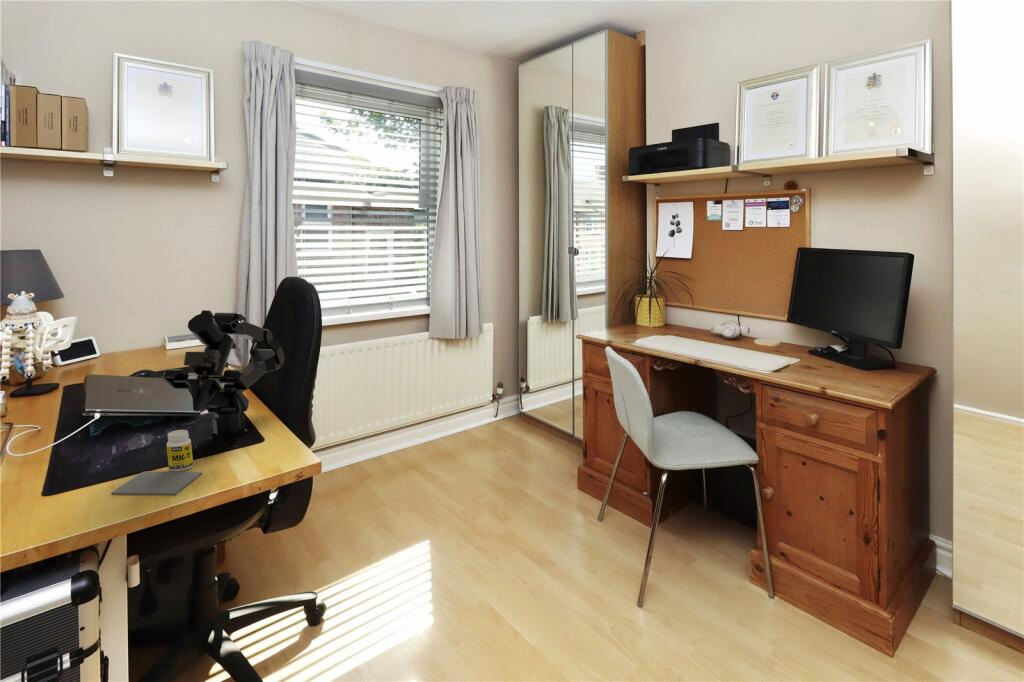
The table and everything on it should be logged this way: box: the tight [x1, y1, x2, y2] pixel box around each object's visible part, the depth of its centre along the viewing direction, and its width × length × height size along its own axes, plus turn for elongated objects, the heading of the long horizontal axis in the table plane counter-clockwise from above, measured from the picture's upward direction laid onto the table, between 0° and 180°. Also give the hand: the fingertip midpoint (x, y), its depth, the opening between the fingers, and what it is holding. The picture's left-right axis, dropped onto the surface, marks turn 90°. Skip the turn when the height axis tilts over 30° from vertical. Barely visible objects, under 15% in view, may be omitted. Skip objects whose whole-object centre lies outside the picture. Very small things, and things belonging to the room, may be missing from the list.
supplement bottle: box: [166, 429, 194, 472], centre depth 124 cm, size 5×5×8 cm
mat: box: [110, 470, 203, 496], centre depth 117 cm, size 10×13×1 cm
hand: (195, 410), depth 130 cm, fingers closed
